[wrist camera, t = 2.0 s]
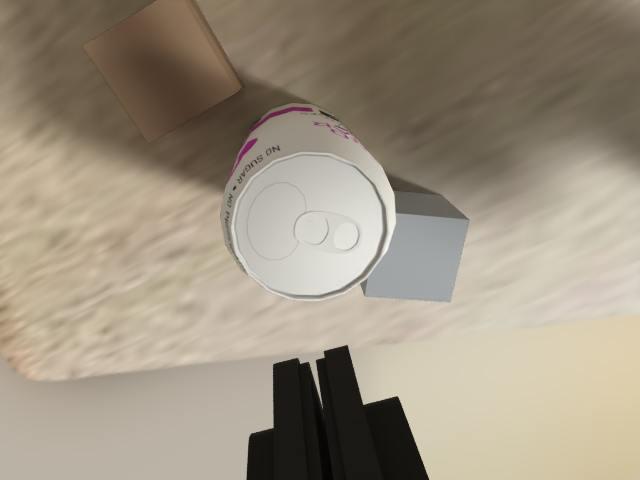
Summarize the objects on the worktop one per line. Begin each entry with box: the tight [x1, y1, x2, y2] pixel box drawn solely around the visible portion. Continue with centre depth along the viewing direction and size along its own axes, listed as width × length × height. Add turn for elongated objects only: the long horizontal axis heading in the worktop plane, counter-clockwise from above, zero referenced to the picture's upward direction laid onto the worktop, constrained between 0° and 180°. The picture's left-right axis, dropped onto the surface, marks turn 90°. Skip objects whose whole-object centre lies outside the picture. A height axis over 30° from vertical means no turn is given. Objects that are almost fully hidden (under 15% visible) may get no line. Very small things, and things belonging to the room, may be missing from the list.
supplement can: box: [220, 103, 396, 301], centre depth 29 cm, size 8×8×15 cm
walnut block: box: [82, 0, 244, 144], centre depth 30 cm, size 6×6×6 cm
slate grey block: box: [360, 190, 469, 302], centre depth 36 cm, size 6×6×6 cm
